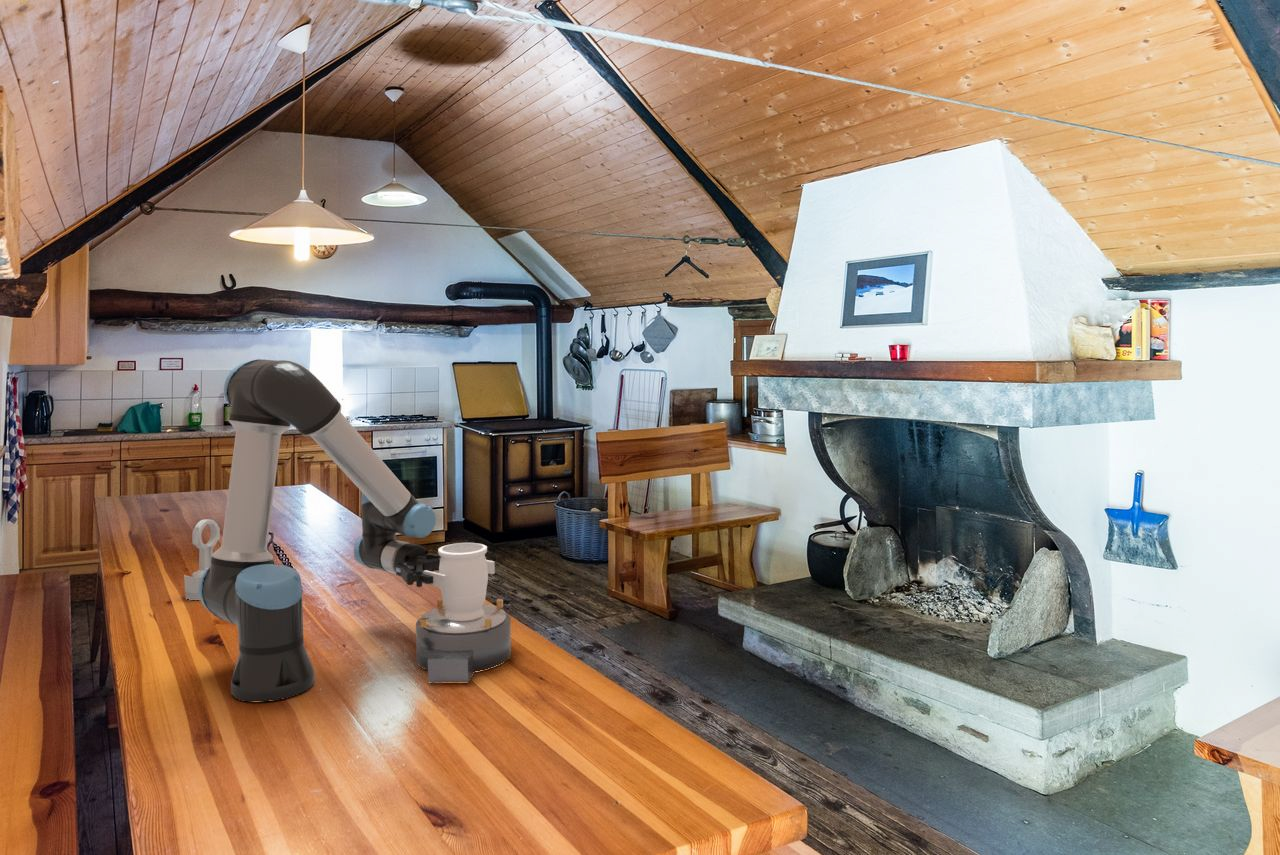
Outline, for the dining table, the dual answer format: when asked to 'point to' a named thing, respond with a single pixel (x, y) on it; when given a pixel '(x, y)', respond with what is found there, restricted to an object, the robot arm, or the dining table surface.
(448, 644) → the cylinder
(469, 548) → the jar
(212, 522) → the engine component
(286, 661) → the robot arm
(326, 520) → the dining table surface
